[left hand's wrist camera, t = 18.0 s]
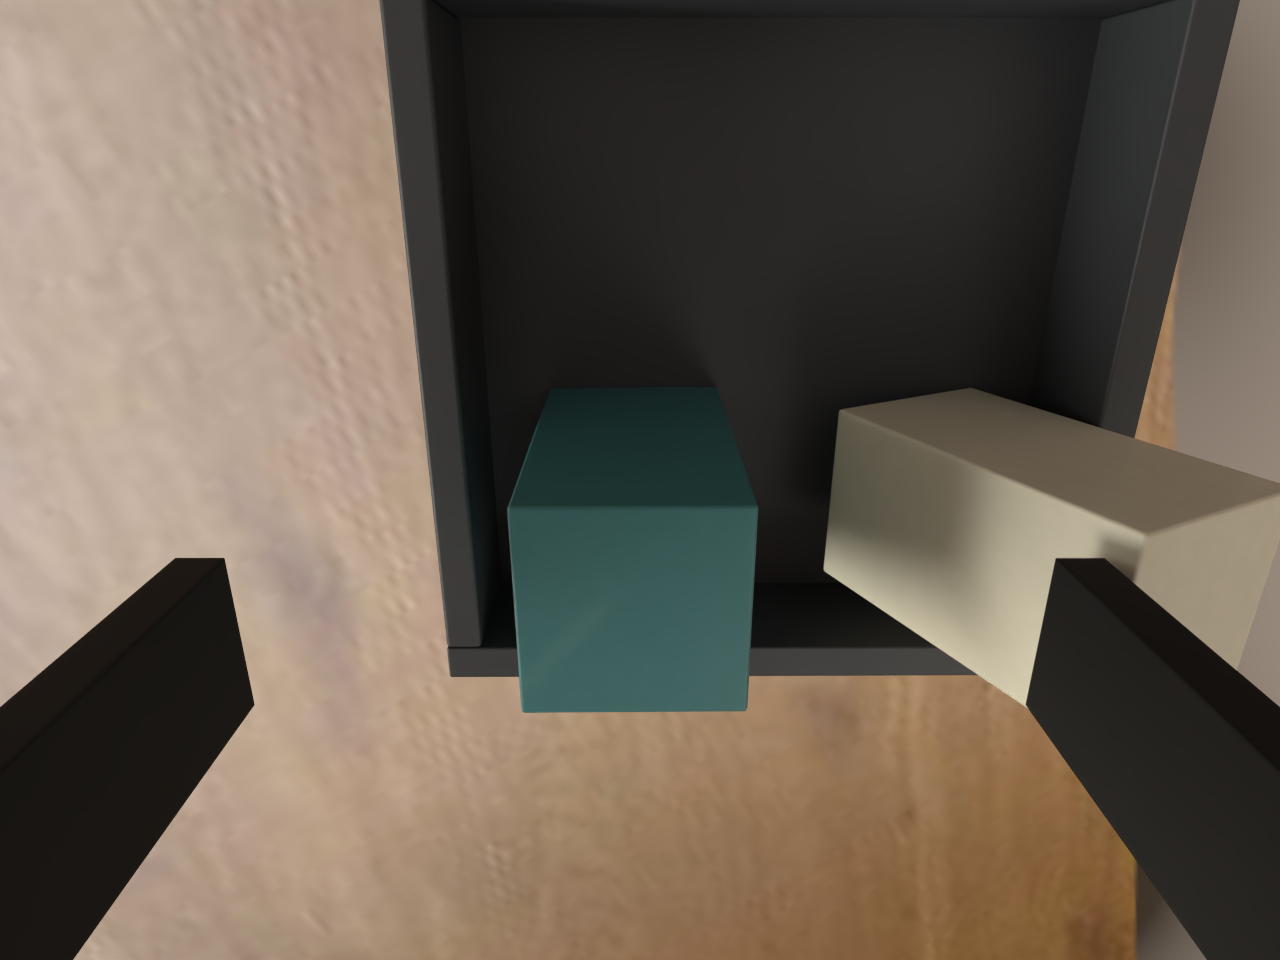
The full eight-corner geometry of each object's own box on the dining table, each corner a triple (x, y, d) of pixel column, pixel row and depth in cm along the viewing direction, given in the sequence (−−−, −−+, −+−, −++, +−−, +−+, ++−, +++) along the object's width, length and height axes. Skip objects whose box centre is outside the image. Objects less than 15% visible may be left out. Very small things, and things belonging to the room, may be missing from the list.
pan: (1013, 598, 22) (1113, 717, 18) (476, 600, 22) (435, 719, 18) (1284, -772, 13) (1649, -1289, 8) (357, -777, 13) (199, -1301, 8)
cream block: (946, 537, 21) (1233, 686, 15) (822, 571, 19) (1091, 752, 13) (970, 386, 19) (1299, 488, 14) (837, 408, 18) (1147, 535, 12)
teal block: (712, 537, 21) (747, 712, 14) (556, 538, 21) (521, 714, 14) (717, 386, 19) (758, 505, 13) (549, 386, 19) (506, 507, 13)
